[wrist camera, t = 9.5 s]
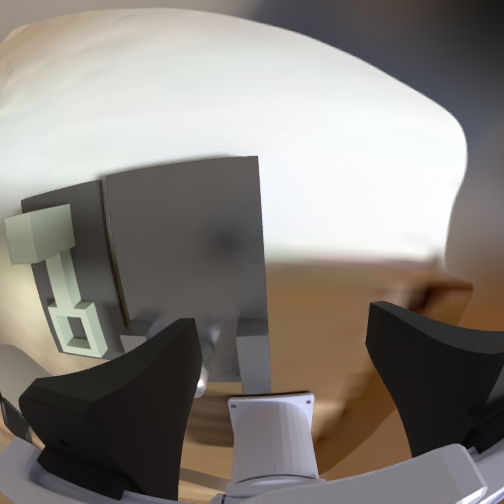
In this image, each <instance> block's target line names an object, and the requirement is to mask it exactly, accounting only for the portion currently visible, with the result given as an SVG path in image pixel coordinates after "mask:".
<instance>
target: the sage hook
mask: <svg viewBox="0 0 504 504" xmlns="http://www.w3.org/2000/svg"><path fill="white" fill-rule="evenodd" d="M4 223H5V230H6V236H7V242H8V248H9V253H10V258H11V263H12V264H28V263H39V262H41V261H43V260H45V261H46V266H47V270H48V274H49V278H50V282H51V286H52V290H53V294H54V297H55V302H54V303H52V304H51V305H50V306H48V310H49V313H50V316H51V319H52V322H53V325H54V328H55V330H56V333H57V336H58V339H59V341H60V344H61V346H62V349H63V351H64V352H68V353H74V354H80V355H86V356H93V357H100V358H101V357H102V356H103V355H104V353H105V352H106V351H107V350H108V348H107V345H106V342H105V339H104V336H103V332H102V329H101V326H100V323H99V319H98V316H97V312H96V309H95V305H94V302H82V300H81V297H80V293H79V289H78V285H77V281H76V276H75V272H74V267H73V263H72V258H71V253H70V248H72V247H74V246H76V245H75V239H74V233H73V226H72V219H71V211H70V204H66V205H61V206H56V207H51V208H47V209H42V210H37V211H33V212H29V213H24V214H21V215H17V216H13V217H9V218H5V219H4ZM67 316H68V317H80V318H81V320H82V323H83V327H84V330H85V333H86V336H87V338H88V340H85V339H77V338H74V336H73V334H72V331H71V328H70V325H69V322H68V319H67Z"/></svg>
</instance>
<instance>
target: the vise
mask: <svg viewBox="0 0 504 504" xmlns="http://www.w3.org/2000/svg"><path fill="white" fill-rule="evenodd" d="M106 183H107V194H108V204H109V212H110V220H111V228H112V235H113V241H114V247H115V253H116V259H117V264H118V269H119V274H120V279H121V284H122V289H123V293H124V297H125V302H126V306H127V310H128V314H129V318H130V321H131V322H130V323H129V324H128V325H127V327H126V328H125V329H124V330H123V332H122V333H121V334H120V338H121V341H122V344H123V347H124V350H125V353H127V352H129V351H131V350H133V349H134V348H136V347H138V346H139V345H141V344H142V343H144V342H146V341H147V340H149V339H150V338H152V337H153V336H155V335H156V334H158V333H159V332H160V331H162V330H163V329H165V328H166V327H167V326H169V325H170V324H172V323H173V322H175V321H176V320H178V319H180V318H195V322H196V328H197V333H198V338H199V343H200V347H201V352H202V357H203V361H202V369H201V375H200V380H199V383H198V386H197V390H196V393H195V396H194V398H199V397H201V396H202V395H203V394H204V393H205V389H206V384H207V382H241V384H242V392H243V394H264V393H271V372H270V349H269V330H268V316H267V296H266V278H265V260H264V242H263V226H262V210H261V194H260V179H259V164H258V156H246V157H233V158H222V159H212V160H202V161H194V162H186V163H178V164H171V165H164V166H157V167H151V168H145V169H139V170H134V171H128V172H123V173H118V174H113V175H108V176H106Z"/></svg>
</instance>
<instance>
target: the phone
mask: <svg viewBox="0 0 504 504" xmlns="http://www.w3.org/2000/svg"><path fill="white" fill-rule="evenodd" d="M0 403H1V409H2V414H3V419H4V424H5V426H6V427H7V428H8V429H9V430H10V431H11V432H12V433H13V434H14V435H15V436H17V437H19V438H21V439H23V440H24V441H26V442H28V443H30V444H32V438H31V427H30V425H29V424H28V423H27V421H26V419H25V418H24V416H23V415H22V414H21V413H20V412H19V411H18V410H17V409H16V408H15V407H14V406H13V405H12V404H11V403H10V402H9V401H8V400H7V399H6V398H4V397H3V398H2V399H1V400H0Z"/></svg>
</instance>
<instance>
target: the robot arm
mask: <svg viewBox="0 0 504 504" xmlns="http://www.w3.org/2000/svg"><path fill="white" fill-rule="evenodd" d="M365 344H366V347H367V350H368V353H369V355H370V358H371V360H372V362H373V364H374V366H375V368H376V370H377V371H378V373H379V375H380V377H381V378H382V380H383V382H384V384H385V385H386V387H387V389H388V391H389V393H390V394H391V396H392V398H393V400H394V402H395V404H396V406H397V409H398V411H399V414H400V417H401V420H402V422H403V425H404V429H405V432H406V435H407V438H408V441H409V446H410V449H411V454H412V459H410V460H407V461H404V462H402V463H398V464H395V465H392V466H389V467H386V468H383V469H379V470H376V471H372V472H368V473H364V474H361V475H357V476H352V477H348V478H343V479H338V480H333V481H328V482H325V479H319V477H318V471H317V465H316V460H315V454H314V449H313V443H312V438H311V433H310V430H311V422H312V413H313V404H314V395H313V393H301V394H290V395H277V396H259V397H231V398H229V399H228V407H229V413H230V418H231V423H232V428H233V433H234V450H233V462H232V474H231V483H229V484H227V486H226V494H222V493H218V494H216V496H215V497H213V498H212V499H211V500H210V501H209V503H208V504H496V503H498V502H499V501H500V500H502V499H503V498H504V332H503V331H482V330H475V329H467V328H462V327H458V326H454V325H450V324H446V323H442V322H439V321H436V320H433V319H430V318H428V317H425V316H422V315H420V314H417V313H415V312H412V311H410V310H407V309H405V308H402V307H400V306H397V305H394V304H392V303H389V302H385V301H379V302H372V303H370V308H369V318H368V327H367V335H366V342H365ZM202 361H203V357H202V352H201V347H200V343H199V338H198V333H197V328H196V322H195V318H180V319H178V320H176V321H175V322H173V323H172V324H170V325H169V326H167V327H166V328H165V329H163V330H162V331H160V332H159V333H158V334H156V335H155V336H153V337H152V338H150V339H149V340H147V341H146V342H144V343H142V344H141V345H139V346H138V347H136V348H134V349H133V350H131V351H129V352H127V353H126V354H124V355H122V356H120V357H117V358H115V359H113V360H111V361H109V362H106V363H103V364H101V365H98V366H95V367H92V368H90V369H86V370H83V371H79V372H75V373H71V374H66V375H61V376H53V377H45V378H37V379H36V380H35V381H34V382H33V383H32V384H31V385H30V386H29V387H28V388H27V389H26V390H25V391H24V393H23V394H22V395H21V396H20V398H19V407H20V410H21V412H22V415H23V416H24V418H25V419H26V421H27V423H28V424H29V425H30V427H31V428H32V429H33V431H34V432H35V433H36V435H37V436H38V437H39V439H40V440H41V441H42V442H43V444H44V445H45V448H44V449H43V451H42V452H41V451H40V450H39V449H38V448H37V447H35V446H34V445H32V444H30V443H28V442H26V441H24V440H23V439H21V438H19V437H17V436H15V437H14V438H13V439H12V441H11V442H10V444H9V445H8V446H7V448H6V449H5V451H4V452H3V453H2V455H1V456H0V491H1V492H2V493H3V494H4V495H5V496H6V497H8V498H9V499H10V500H11V501H12V502H14V503H15V504H195V503H186V502H179V501H178V485H179V473H180V462H181V454H182V446H183V440H184V433H185V427H186V423H187V419H188V416H189V412H190V409H191V406H192V403H193V400H194V396H195V393H196V390H197V386H198V383H199V380H200V375H201V369H202ZM308 400H310V401H308ZM233 405H235V406H233Z"/></svg>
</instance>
